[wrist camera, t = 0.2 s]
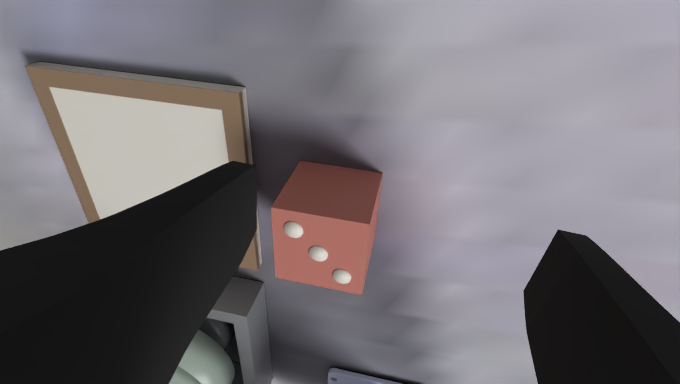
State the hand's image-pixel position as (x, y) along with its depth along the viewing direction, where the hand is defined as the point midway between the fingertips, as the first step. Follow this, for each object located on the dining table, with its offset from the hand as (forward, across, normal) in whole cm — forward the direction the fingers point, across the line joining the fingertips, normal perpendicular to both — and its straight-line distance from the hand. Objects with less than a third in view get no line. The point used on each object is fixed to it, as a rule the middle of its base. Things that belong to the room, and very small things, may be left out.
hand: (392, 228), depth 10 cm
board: (+10, +14, +8) cm, 19 cm away
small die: (+10, +3, +7) cm, 13 cm away
